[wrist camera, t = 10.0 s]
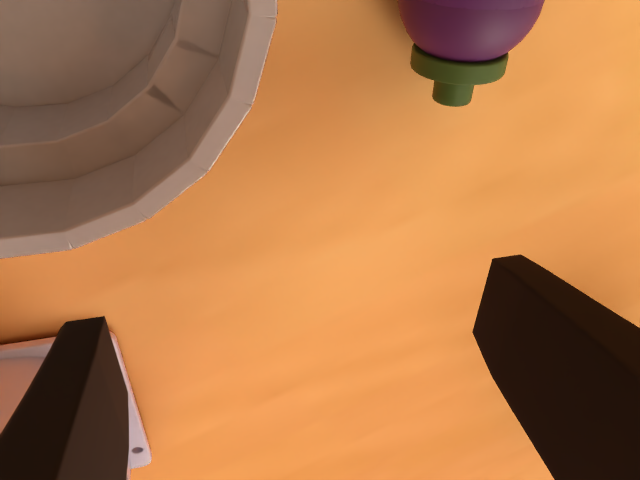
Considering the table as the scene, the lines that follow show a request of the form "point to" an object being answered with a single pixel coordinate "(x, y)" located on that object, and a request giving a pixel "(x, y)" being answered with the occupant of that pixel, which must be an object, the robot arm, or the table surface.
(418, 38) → the eggplant
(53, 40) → the bowl
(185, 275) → the table surface
